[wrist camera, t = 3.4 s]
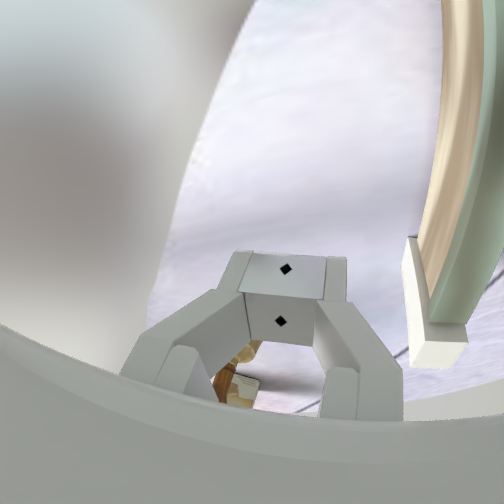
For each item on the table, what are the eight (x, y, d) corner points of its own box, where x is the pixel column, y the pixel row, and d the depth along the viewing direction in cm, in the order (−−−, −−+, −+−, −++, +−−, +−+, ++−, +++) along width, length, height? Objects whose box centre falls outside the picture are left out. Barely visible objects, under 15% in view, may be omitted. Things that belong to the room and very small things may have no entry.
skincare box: (260, 379, 43) (237, 455, 34) (258, 391, 46) (236, 460, 36) (218, 368, 44) (190, 440, 35) (219, 380, 47) (193, 447, 38)
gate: (468, -40, 8) (529, -67, 2) (443, 243, 21) (466, 324, 15) (430, -51, 8) (476, -91, 2) (413, 239, 21) (429, 322, 15)
